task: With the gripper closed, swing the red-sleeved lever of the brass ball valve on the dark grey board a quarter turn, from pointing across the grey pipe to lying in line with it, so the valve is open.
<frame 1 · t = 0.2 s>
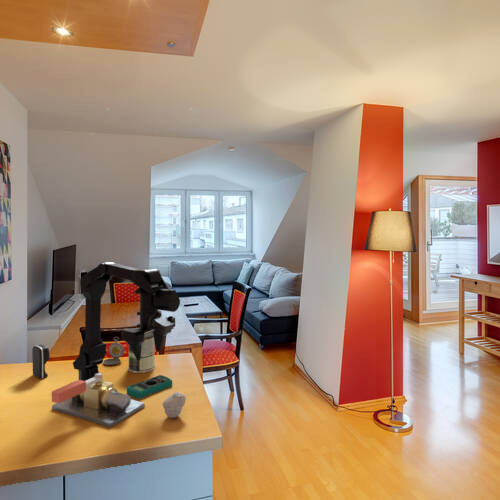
hand: (148, 355, 121), 15 cm above the kitchen counter, tool pointing down, fingers open, 9 cm apart
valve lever: (79, 386, 109), point 9 cm above the kitchen counter, hinge at -90.0°
pale grey rock: (174, 417, 111), on the kitchen counter
coffee can: (141, 368, 149), on the kitchen counter
pocket watch: (113, 362, 155), on the kitchen counter
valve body: (98, 407, 115), on the kitchen counter
battery charger: (41, 376, 140), on the kitchen counter
digital multimeter: (150, 391, 129), on the kitchen counter
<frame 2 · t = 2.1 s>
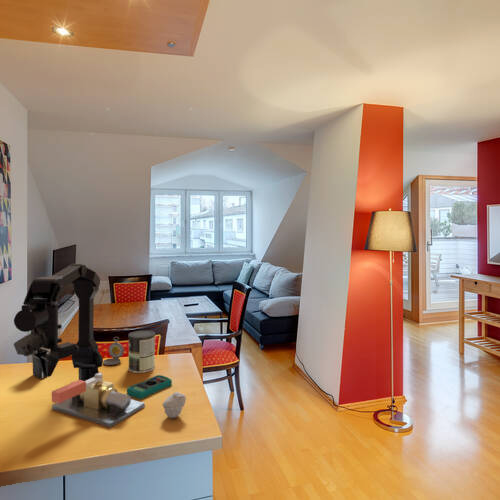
hand: (47, 376, 107), 13 cm above the kitchen counter, tool pointing down, fingers closed
nothing on the kitchen counter moved.
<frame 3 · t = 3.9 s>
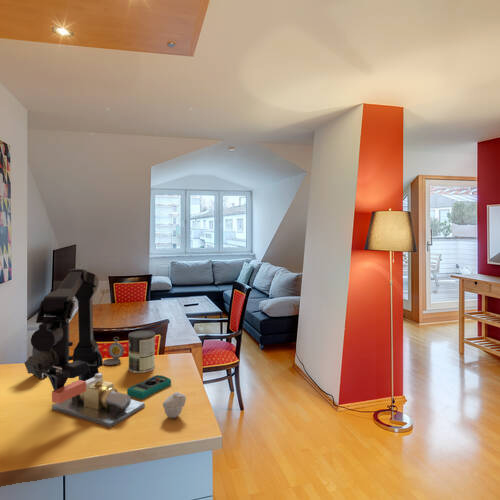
hand: (57, 394, 105), 9 cm above the kitchen counter, tool pointing down, fingers closed
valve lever: (80, 386, 108), point 9 cm above the kitchen counter, hinge at -89.6°, touching gripper
everything else where it was.
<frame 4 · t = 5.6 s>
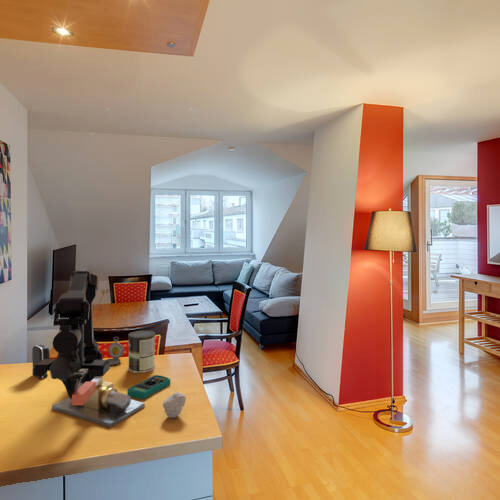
hand: (71, 398, 103), 9 cm above the kitchen counter, tool pointing down, fingers closed
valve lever: (89, 387, 108), point 9 cm above the kitchen counter, hinge at -63.7°, touching gripper
everything else where it was.
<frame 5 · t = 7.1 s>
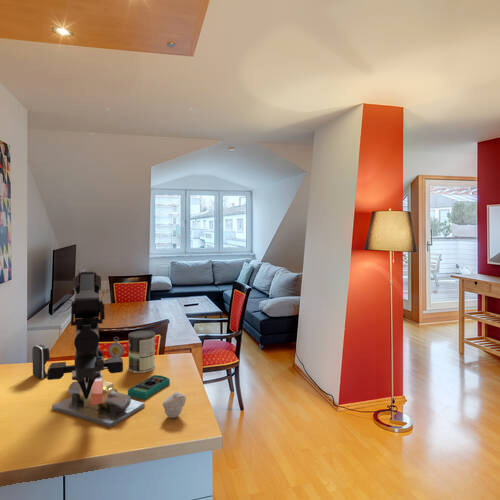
hand: (86, 398, 103), 9 cm above the kitchen counter, tool pointing down, fingers closed
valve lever: (97, 387, 108), point 9 cm above the kitchen counter, hinge at -44.8°, touching gripper
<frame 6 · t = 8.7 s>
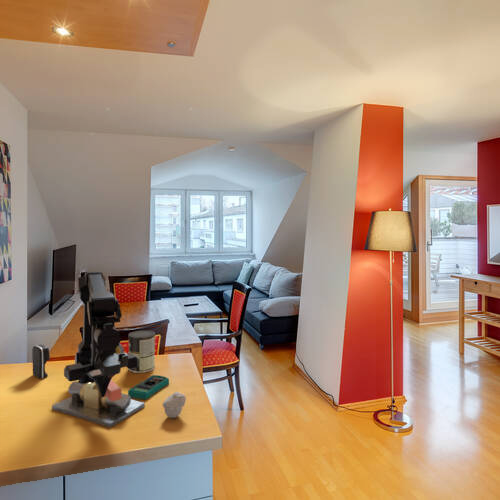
hand: (102, 396, 104), 9 cm above the kitchen counter, tool pointing down, fingers closed
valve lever: (106, 385, 109), point 9 cm above the kitchen counter, hinge at -25.5°, touching gripper
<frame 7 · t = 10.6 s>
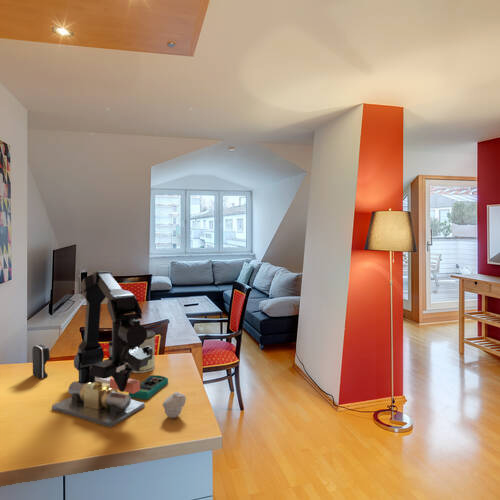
hand: (122, 391, 107), 9 cm above the kitchen counter, tool pointing down, fingers closed
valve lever: (115, 382, 112), point 9 cm above the kitchen counter, hinge at 0.5°, touching gripper
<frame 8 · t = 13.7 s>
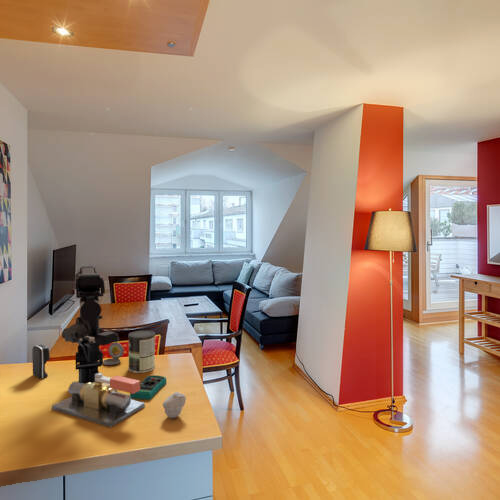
hand: (89, 361, 119), 13 cm above the kitchen counter, tool pointing down, fingers closed
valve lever: (115, 382, 112), point 9 cm above the kitchen counter, hinge at 0.5°
at the end: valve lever at +0° (first picture: -90°); digital multimeter moved 1.0 cm from its start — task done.
